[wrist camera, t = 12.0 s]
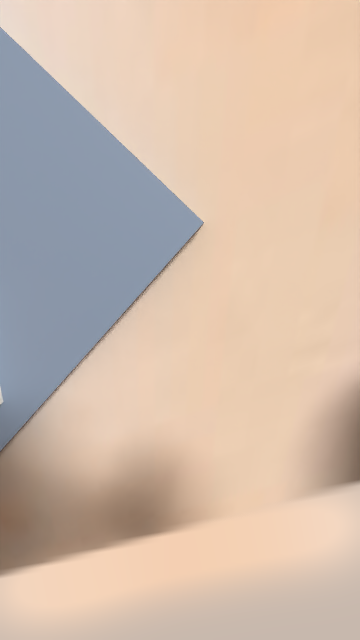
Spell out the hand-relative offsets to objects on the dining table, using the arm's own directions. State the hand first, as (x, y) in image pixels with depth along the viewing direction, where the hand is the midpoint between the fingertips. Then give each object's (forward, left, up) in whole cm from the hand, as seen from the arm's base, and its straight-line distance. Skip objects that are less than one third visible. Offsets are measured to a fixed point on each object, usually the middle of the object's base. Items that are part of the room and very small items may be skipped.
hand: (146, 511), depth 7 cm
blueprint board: (+12, +6, -13) cm, 19 cm away
